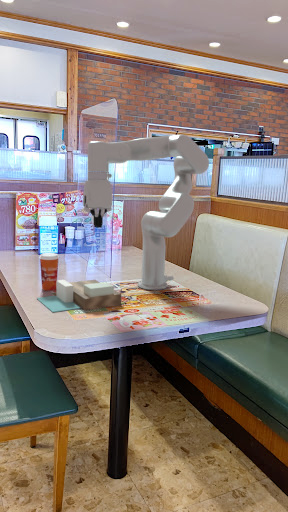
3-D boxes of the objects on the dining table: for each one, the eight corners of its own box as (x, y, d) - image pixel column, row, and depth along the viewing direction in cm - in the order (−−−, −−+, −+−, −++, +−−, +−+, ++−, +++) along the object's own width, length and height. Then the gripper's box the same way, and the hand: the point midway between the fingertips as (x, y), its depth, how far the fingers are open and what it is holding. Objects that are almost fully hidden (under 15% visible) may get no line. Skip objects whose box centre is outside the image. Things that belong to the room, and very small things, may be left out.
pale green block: (83, 292, 144) (83, 284, 143) (106, 289, 148) (106, 281, 148) (90, 297, 139) (90, 288, 138) (113, 294, 143) (114, 285, 143)
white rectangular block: (64, 279, 151) (56, 280, 150) (73, 285, 144) (65, 286, 142) (64, 295, 153) (56, 296, 151) (73, 301, 145) (65, 302, 143)
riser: (94, 289, 163) (94, 279, 162) (121, 304, 145) (121, 293, 144) (61, 293, 155) (61, 283, 155) (85, 310, 137) (85, 299, 137)
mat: (62, 295, 153) (62, 294, 153) (80, 308, 139) (80, 307, 139) (36, 298, 148) (36, 297, 148) (52, 312, 134) (52, 311, 134)
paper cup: (39, 292, 156) (39, 256, 154) (39, 286, 164) (38, 252, 161) (60, 291, 158) (60, 256, 156) (58, 285, 166) (58, 252, 163)
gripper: (111, 177, 153) (111, 225, 157) (74, 176, 145) (75, 227, 149) (121, 177, 147) (120, 227, 151) (83, 176, 139) (83, 229, 143)
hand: (98, 227), depth 150 cm, fingers closed
